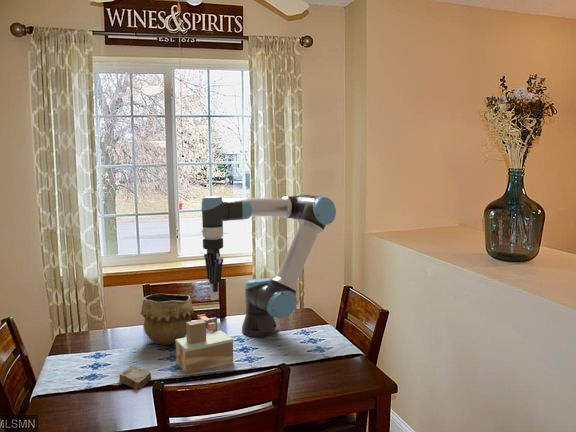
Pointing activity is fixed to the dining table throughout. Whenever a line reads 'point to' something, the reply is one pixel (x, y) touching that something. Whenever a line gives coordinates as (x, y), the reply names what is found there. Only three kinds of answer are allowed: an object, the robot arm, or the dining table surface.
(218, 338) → the lid
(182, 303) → the clay pot
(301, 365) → the dining table surface
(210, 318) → the staple
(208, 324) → the key bar
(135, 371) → the stone
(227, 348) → the toolbox
